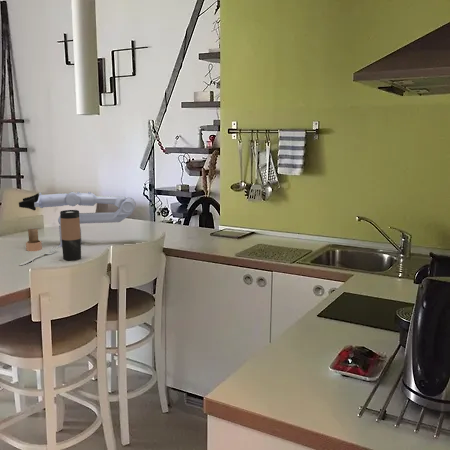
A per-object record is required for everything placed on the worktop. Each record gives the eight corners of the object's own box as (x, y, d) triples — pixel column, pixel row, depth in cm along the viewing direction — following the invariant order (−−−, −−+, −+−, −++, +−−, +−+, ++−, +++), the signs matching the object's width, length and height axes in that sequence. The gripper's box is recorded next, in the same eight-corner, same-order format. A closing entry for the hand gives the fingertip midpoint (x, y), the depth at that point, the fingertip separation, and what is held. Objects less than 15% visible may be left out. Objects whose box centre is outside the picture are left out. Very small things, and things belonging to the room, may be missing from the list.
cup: (43, 248, 241) (42, 240, 240) (39, 252, 235) (38, 243, 234) (29, 249, 240) (28, 240, 240) (25, 252, 234) (24, 243, 234)
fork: (16, 265, 212) (16, 260, 212) (53, 250, 235) (53, 246, 234) (23, 265, 211) (23, 261, 211) (60, 251, 234) (59, 247, 233)
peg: (40, 248, 240) (38, 228, 238) (37, 250, 236) (36, 230, 234) (30, 248, 239) (29, 228, 238) (28, 250, 235) (26, 230, 234)
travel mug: (83, 256, 226) (81, 209, 223) (79, 261, 219) (76, 212, 215) (65, 256, 226) (62, 209, 222) (60, 261, 218) (57, 212, 215)
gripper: (53, 188, 249) (23, 190, 247) (47, 195, 235) (15, 197, 233) (55, 203, 250) (25, 205, 249) (50, 210, 237) (18, 213, 235)
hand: (21, 202), depth 241 cm, fingers open, 7 cm apart
